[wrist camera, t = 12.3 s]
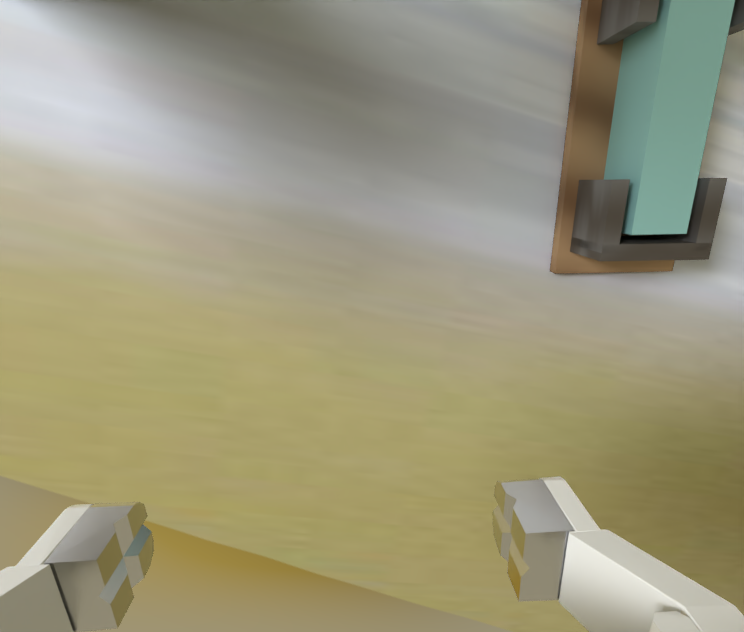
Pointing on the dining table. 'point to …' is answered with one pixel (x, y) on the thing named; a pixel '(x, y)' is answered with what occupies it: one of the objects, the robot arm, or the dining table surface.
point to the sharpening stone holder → (589, 153)
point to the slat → (666, 112)
